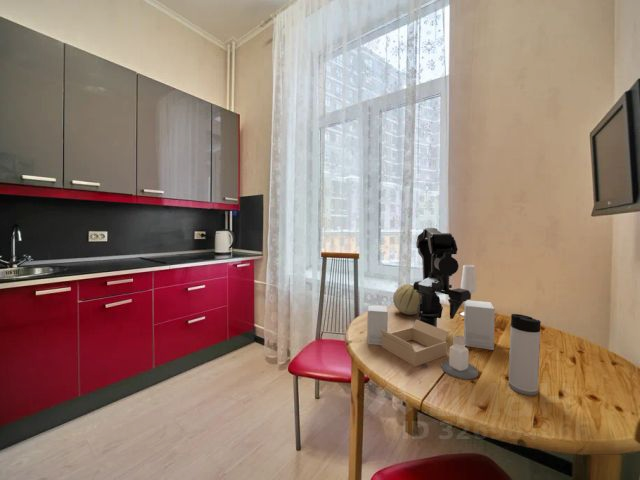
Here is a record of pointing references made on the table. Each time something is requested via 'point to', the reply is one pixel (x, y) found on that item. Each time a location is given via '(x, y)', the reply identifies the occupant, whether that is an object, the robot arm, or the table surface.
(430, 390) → the table surface
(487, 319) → the supplement box
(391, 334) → the carton
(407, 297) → the cantaloupe
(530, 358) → the travel mug
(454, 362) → the salt shaker
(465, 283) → the champagne flute
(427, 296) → the robot arm
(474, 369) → the coaster
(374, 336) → the supplement box
